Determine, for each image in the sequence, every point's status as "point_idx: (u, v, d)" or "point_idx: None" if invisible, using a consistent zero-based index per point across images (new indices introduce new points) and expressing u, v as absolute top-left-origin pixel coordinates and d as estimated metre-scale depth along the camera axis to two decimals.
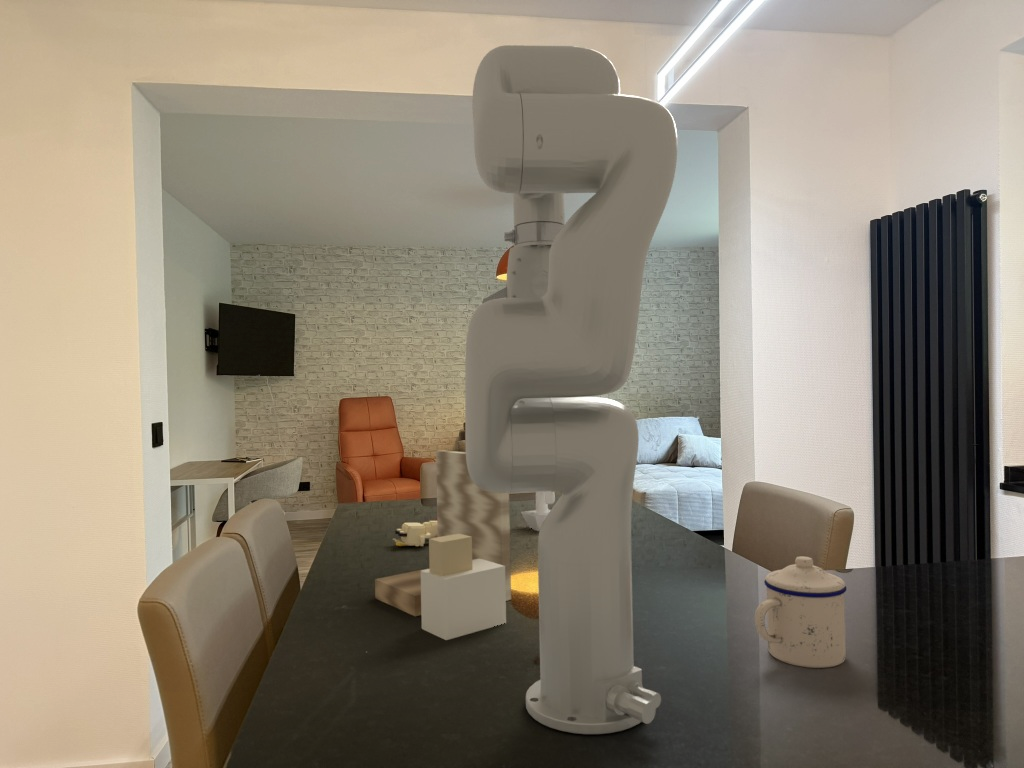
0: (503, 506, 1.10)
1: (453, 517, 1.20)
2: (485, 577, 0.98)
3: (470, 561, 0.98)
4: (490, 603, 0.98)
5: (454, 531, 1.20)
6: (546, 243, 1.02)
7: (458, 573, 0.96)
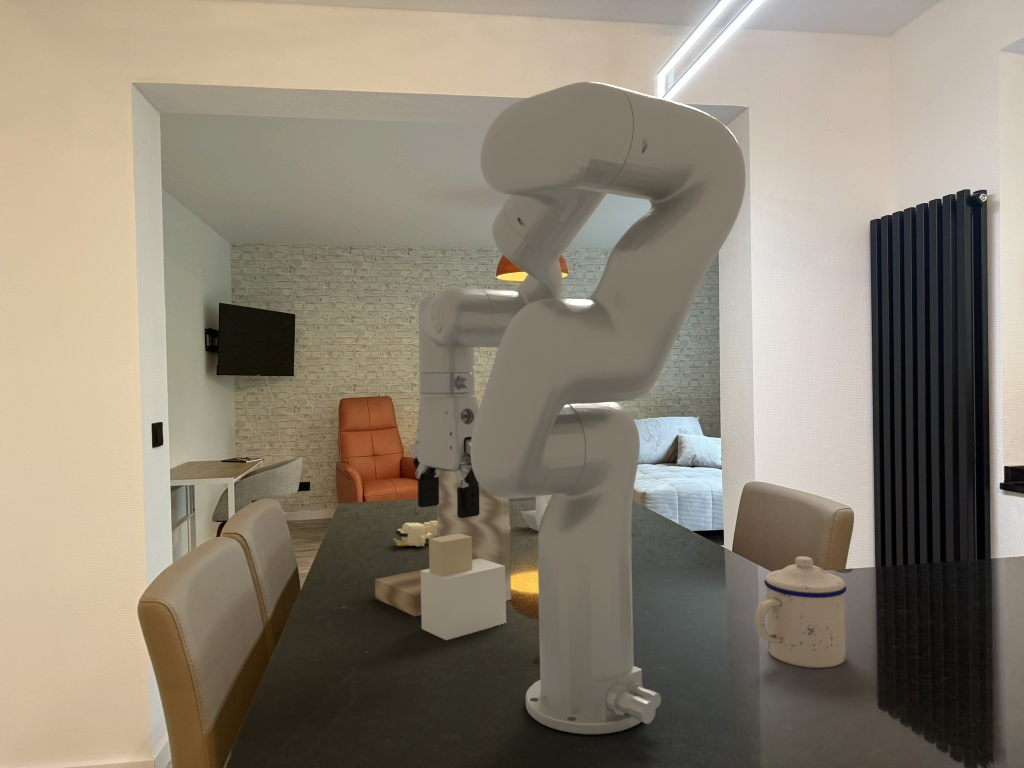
0: (503, 506, 1.10)
1: (453, 517, 1.20)
2: (485, 577, 0.98)
3: (470, 561, 0.98)
4: (490, 603, 0.98)
5: (454, 531, 1.20)
6: None
7: (458, 573, 0.96)
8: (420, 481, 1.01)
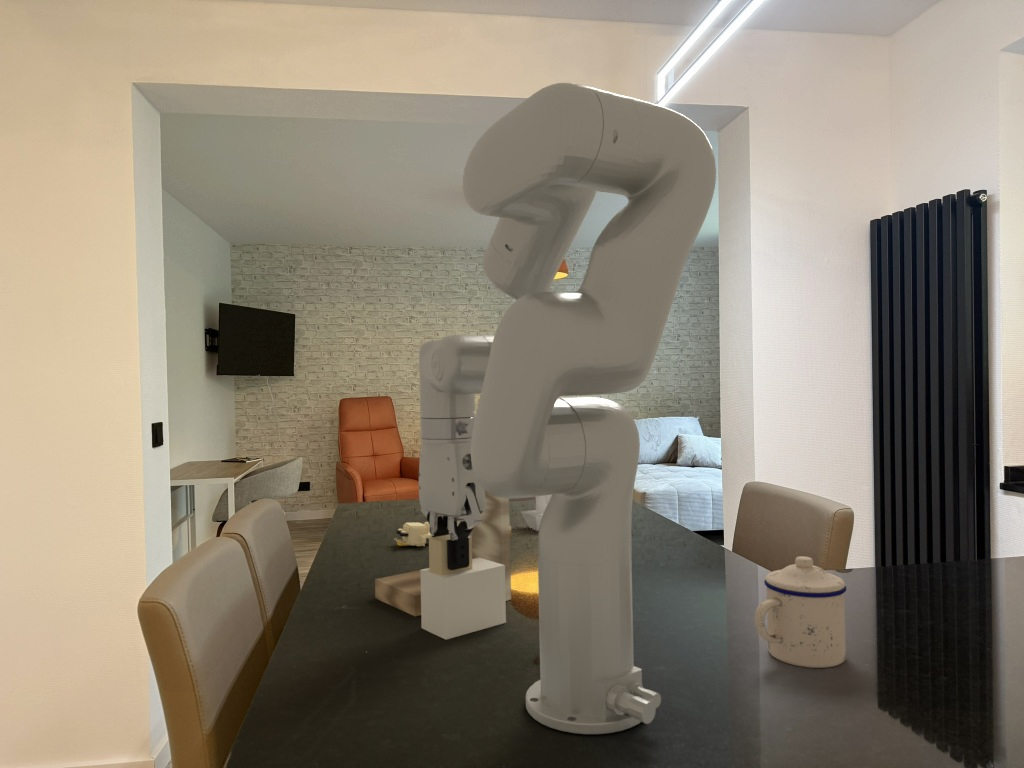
0: (503, 506, 1.10)
1: None
2: (485, 576, 0.98)
3: (470, 560, 0.98)
4: (490, 602, 0.98)
5: None
6: None
7: (458, 572, 0.96)
8: None
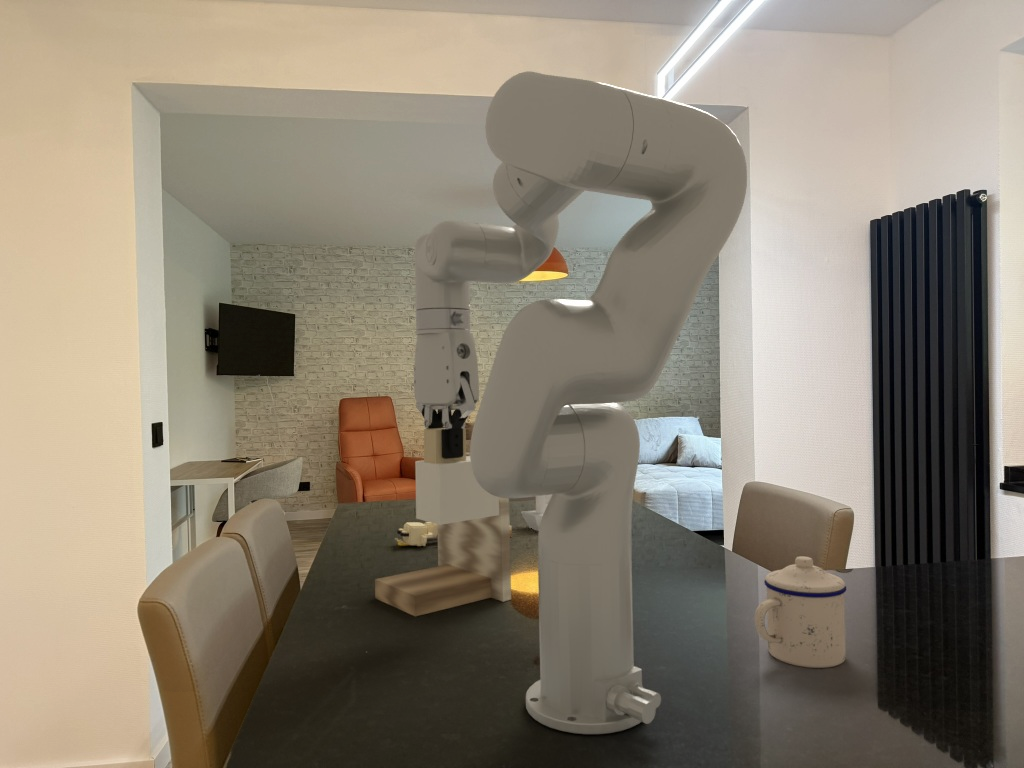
0: (503, 506, 1.10)
1: None
2: None
3: (464, 452, 1.00)
4: (483, 493, 1.00)
5: (454, 531, 1.20)
6: None
7: (452, 462, 0.98)
8: None
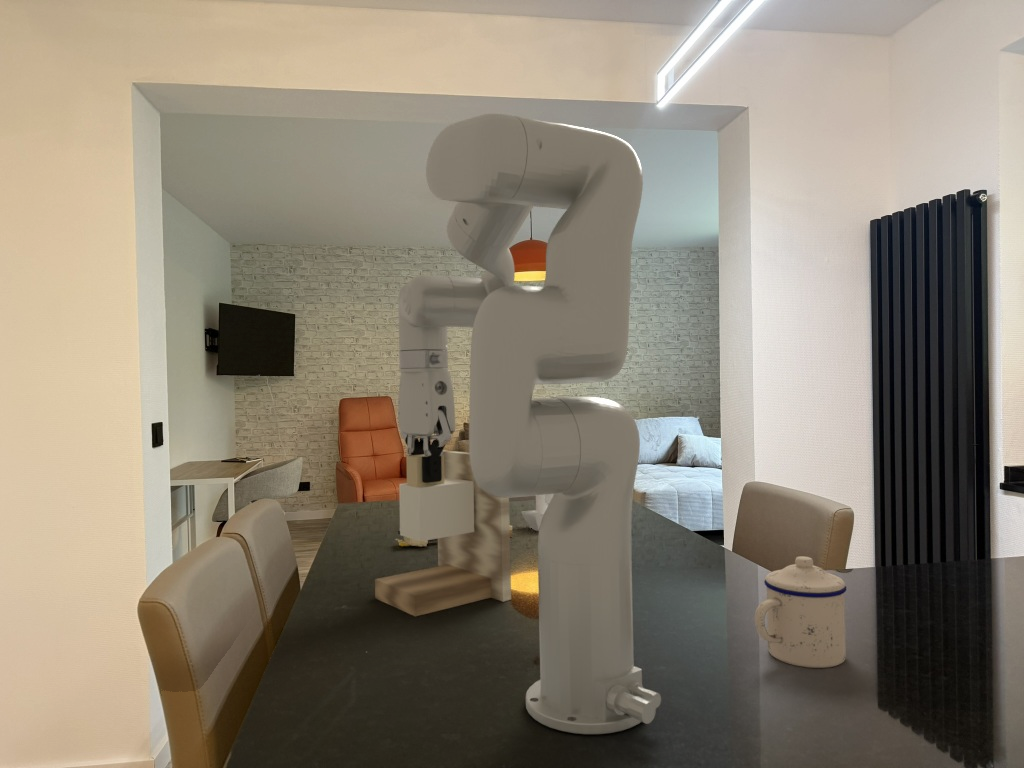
0: (503, 506, 1.10)
1: None
2: (455, 490, 1.12)
3: (442, 476, 1.12)
4: (460, 513, 1.12)
5: None
6: None
7: (431, 485, 1.11)
8: None
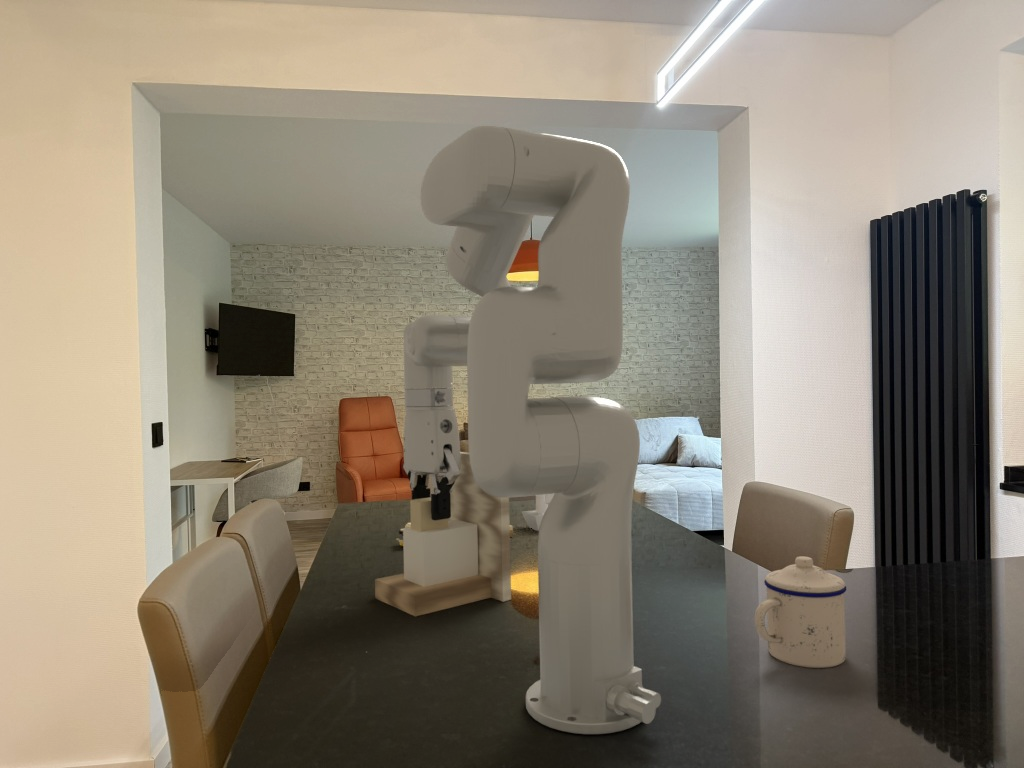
0: (503, 506, 1.10)
1: (453, 517, 1.20)
2: (459, 533, 1.12)
3: (446, 520, 1.12)
4: (464, 556, 1.12)
5: None
6: None
7: (435, 529, 1.11)
8: (413, 492, 1.13)
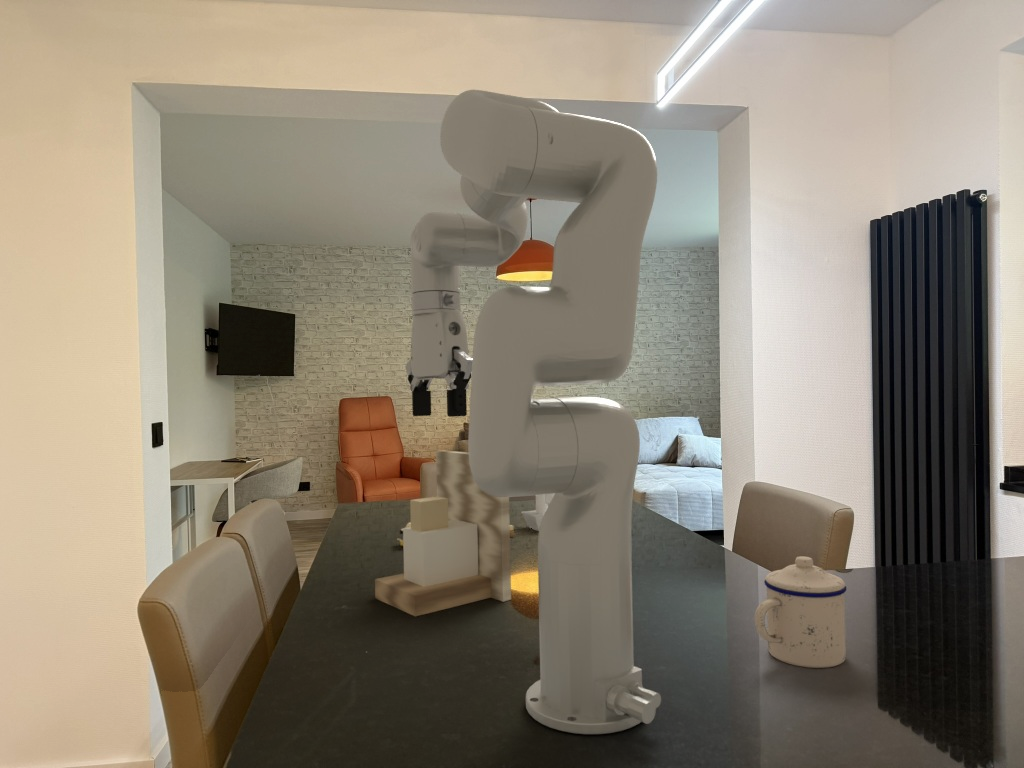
0: (503, 506, 1.10)
1: (453, 517, 1.20)
2: (459, 533, 1.12)
3: (446, 520, 1.12)
4: (464, 556, 1.12)
5: None
6: None
7: (435, 529, 1.11)
8: (414, 393, 1.14)
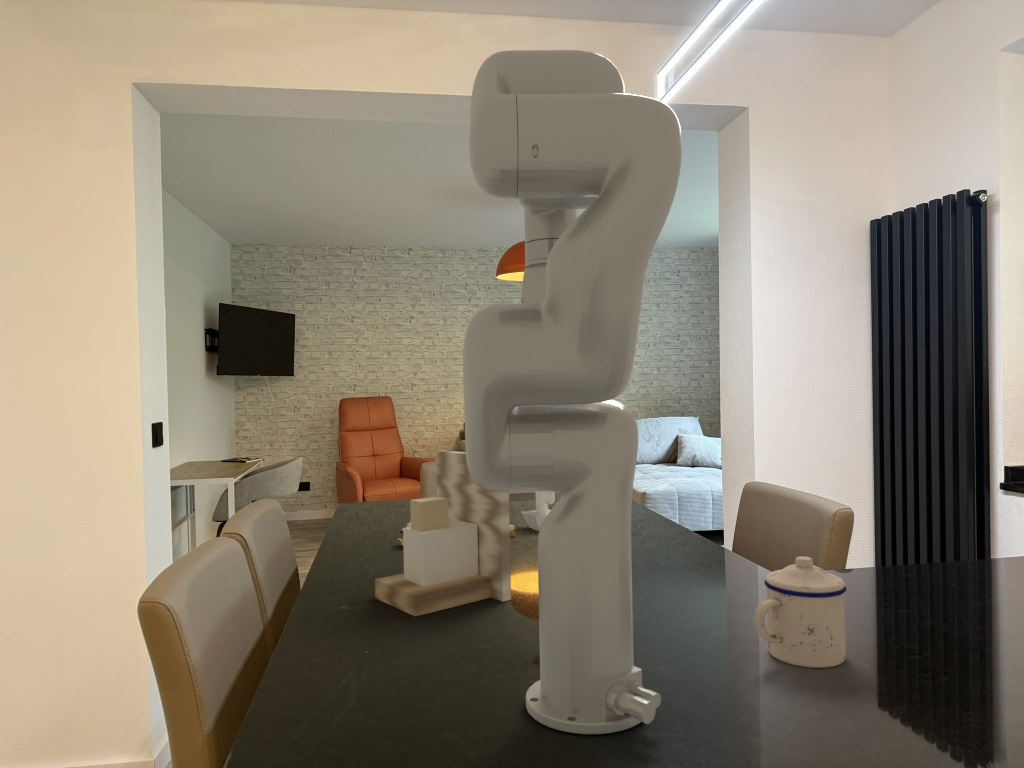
0: (503, 506, 1.10)
1: (453, 517, 1.20)
2: (459, 533, 1.12)
3: (446, 520, 1.12)
4: (464, 556, 1.12)
5: None
6: None
7: (435, 529, 1.11)
8: None
